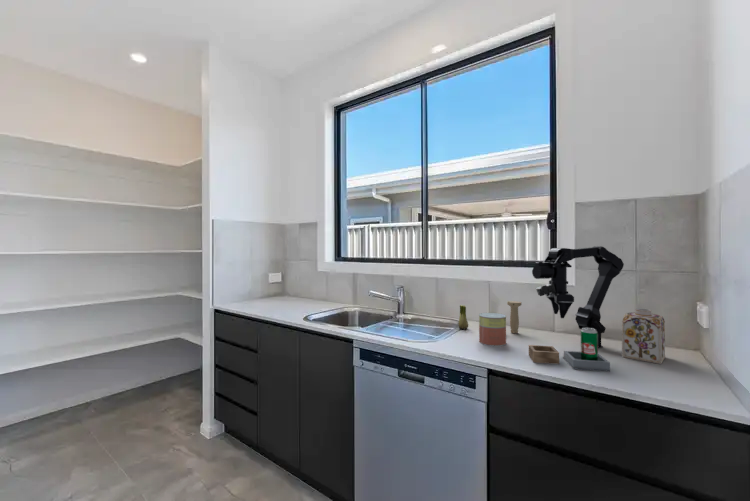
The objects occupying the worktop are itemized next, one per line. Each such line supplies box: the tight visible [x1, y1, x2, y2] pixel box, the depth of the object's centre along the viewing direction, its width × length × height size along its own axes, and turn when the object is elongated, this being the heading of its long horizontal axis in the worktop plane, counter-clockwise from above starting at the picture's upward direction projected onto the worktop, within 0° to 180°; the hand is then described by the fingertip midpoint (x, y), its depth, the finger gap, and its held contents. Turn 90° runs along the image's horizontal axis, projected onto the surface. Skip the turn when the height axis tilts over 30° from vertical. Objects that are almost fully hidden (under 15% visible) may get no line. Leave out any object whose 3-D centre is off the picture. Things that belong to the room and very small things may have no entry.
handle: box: [506, 300, 522, 334], centre depth 166 cm, size 5×6×15 cm
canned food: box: [478, 312, 507, 347], centre depth 149 cm, size 11×11×12 cm
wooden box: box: [528, 344, 560, 365], centre depth 126 cm, size 8×8×4 cm
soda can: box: [580, 328, 599, 361], centre depth 120 cm, size 5×5×12 cm
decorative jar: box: [621, 308, 666, 365], centre depth 128 cm, size 12×12×18 cm
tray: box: [563, 350, 611, 372], centre depth 120 cm, size 11×11×3 cm
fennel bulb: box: [458, 304, 469, 330], centre depth 176 cm, size 6×5×12 cm
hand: (558, 316), depth 141 cm, fingers open, 9 cm apart
